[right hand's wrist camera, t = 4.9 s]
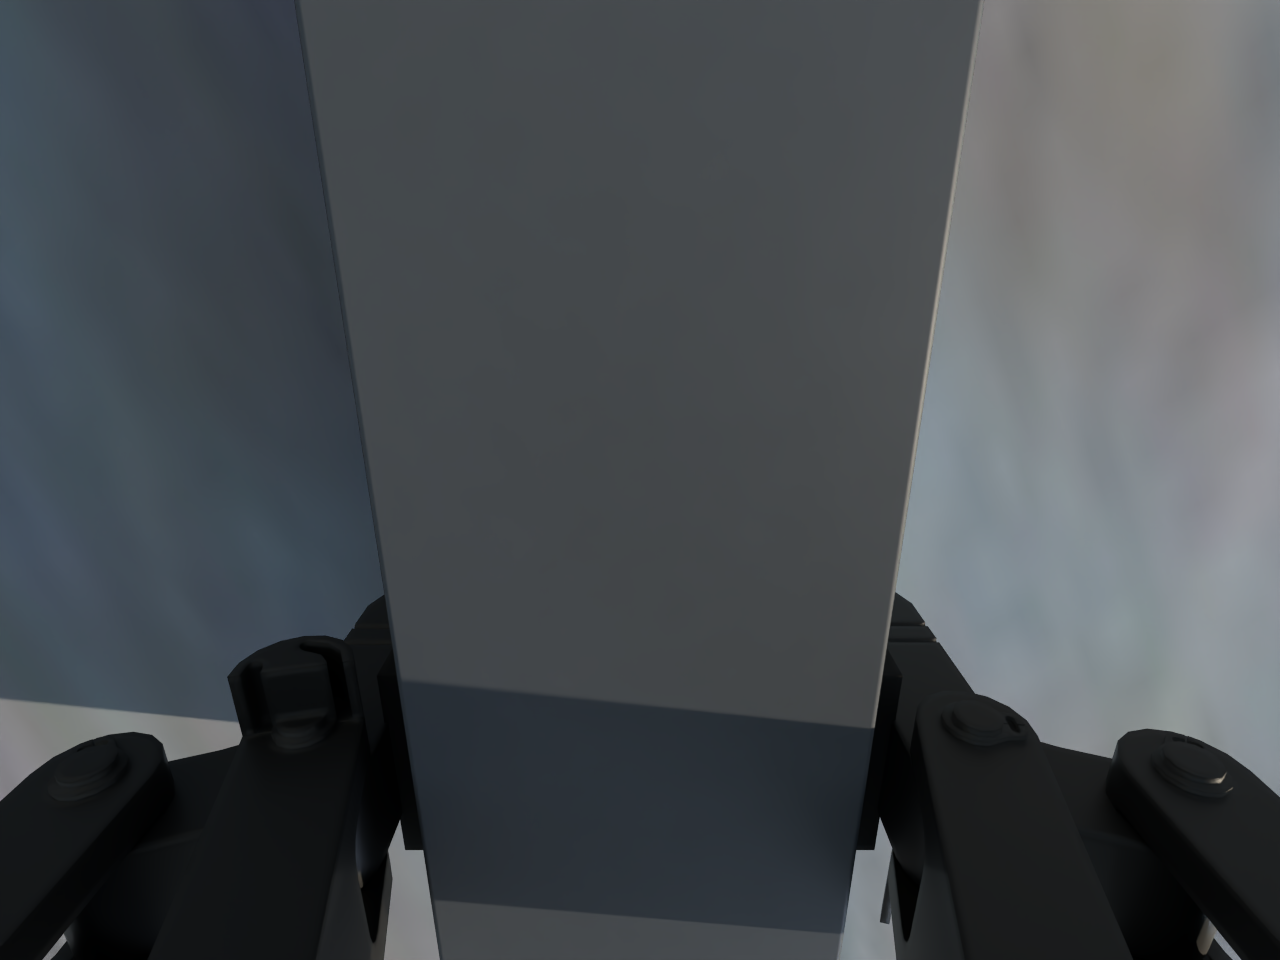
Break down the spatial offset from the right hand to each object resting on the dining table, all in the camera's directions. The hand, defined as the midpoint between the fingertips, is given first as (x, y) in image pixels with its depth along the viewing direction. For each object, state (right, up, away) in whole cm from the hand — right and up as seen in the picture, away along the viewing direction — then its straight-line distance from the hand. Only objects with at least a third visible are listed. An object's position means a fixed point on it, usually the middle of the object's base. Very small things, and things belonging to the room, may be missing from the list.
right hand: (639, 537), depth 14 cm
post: (0, +28, -10) cm, 30 cm away
